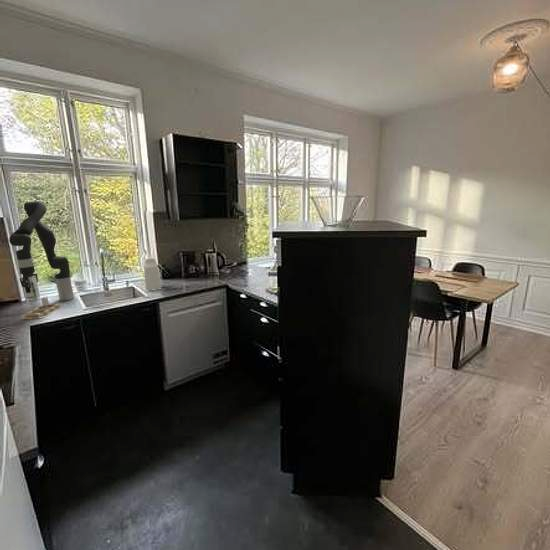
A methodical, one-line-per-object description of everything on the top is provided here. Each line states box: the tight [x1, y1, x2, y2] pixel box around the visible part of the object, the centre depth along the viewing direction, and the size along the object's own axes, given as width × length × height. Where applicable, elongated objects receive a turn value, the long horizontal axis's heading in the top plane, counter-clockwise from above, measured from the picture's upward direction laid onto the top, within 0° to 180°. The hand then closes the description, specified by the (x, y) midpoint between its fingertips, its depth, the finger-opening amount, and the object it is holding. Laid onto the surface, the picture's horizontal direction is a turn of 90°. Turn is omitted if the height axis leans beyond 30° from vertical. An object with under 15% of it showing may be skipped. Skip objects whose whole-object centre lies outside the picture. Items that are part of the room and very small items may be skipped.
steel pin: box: [40, 296, 50, 309], centre depth 210 cm, size 4×4×9 cm
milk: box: [144, 257, 162, 291], centre depth 254 cm, size 12×12×26 cm
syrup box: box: [21, 275, 41, 301], centre depth 196 cm, size 6×6×14 cm
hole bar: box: [20, 303, 62, 321], centre depth 206 cm, size 23×12×2 cm, turn 9°
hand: (31, 291), depth 197 cm, fingers closed on syrup box, 6 cm apart
